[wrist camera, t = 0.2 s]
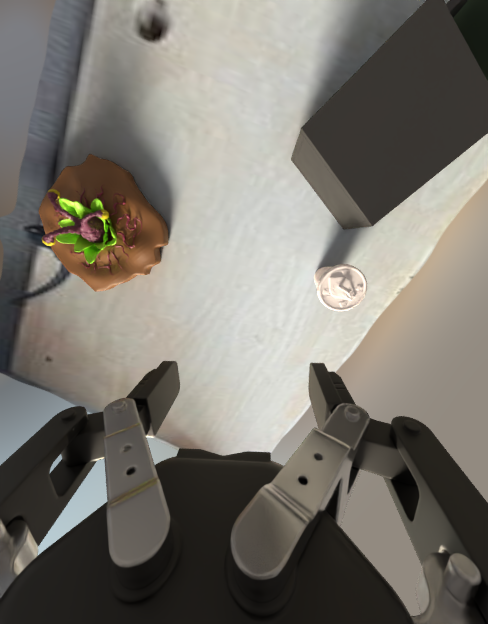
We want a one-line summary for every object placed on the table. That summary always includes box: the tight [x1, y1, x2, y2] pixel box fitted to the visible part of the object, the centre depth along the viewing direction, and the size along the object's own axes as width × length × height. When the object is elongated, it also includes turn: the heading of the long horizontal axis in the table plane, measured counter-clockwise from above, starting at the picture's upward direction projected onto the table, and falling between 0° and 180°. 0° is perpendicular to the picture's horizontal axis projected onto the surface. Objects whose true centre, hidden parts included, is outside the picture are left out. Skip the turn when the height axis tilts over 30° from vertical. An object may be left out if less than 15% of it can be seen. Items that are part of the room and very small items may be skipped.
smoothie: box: [314, 264, 367, 311], centre depth 34 cm, size 6×6×14 cm
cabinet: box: [291, 0, 488, 229], centre depth 30 cm, size 16×14×11 cm
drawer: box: [446, 0, 488, 81], centre depth 27 cm, size 19×12×9 cm, turn 132°
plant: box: [39, 154, 168, 291], centre depth 36 cm, size 20×20×11 cm
